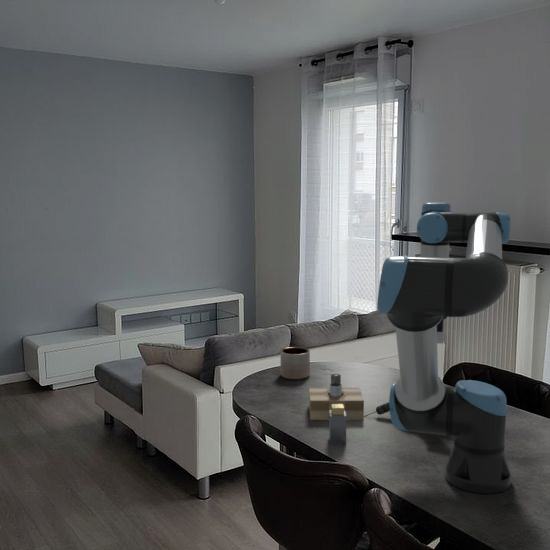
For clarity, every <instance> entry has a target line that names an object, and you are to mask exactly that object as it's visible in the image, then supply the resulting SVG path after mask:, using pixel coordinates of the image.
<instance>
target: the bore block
mask: <svg viewBox="0 0 550 550" xmlns="http://www.w3.org/2000/svg"><path fill="white" fill-rule="evenodd" d="M308 394H309V395H308V406H309V407H308V408H309V409H308V410H309V418H310V420H311V421H315V420H316V421H318V420H319V421H321V420H322V421H323V420H325V421H326V420H327V421H329V410H332V404H343V406H344V410H345V412H346V421H364V418H365V417H364V416H365V414H364V412H365V411H364V410H365V408H364V407H365V399H364V396H363V394H362V391H361V388H360V387H342V396H340V397H333V396H330V387H309V388H308Z"/></svg>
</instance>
